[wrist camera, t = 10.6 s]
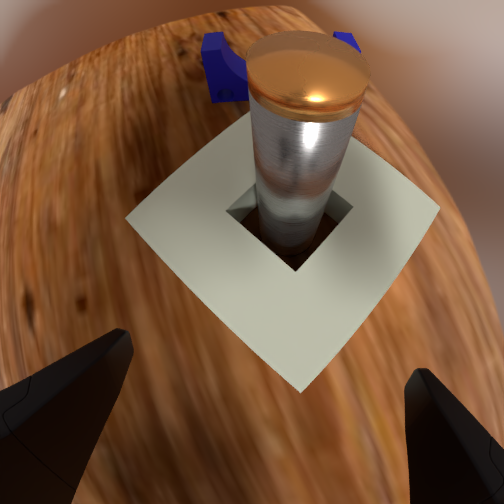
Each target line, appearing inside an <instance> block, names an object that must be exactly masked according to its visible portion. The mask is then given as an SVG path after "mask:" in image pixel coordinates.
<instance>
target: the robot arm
mask: <svg viewBox="0 0 504 504" xmlns="http://www.w3.org/2000/svg"><path fill="white" fill-rule="evenodd" d="M133 353H134V349H133V345H132V341H131V337H130V333H129V332H128V331H127V330H123V329H120V328H116V329H114V330H112V331H110V332H108V333H107V334H105V335H103V336H101V337H99V338H98V339H96V340H94V341H92V342H90V343H89V344H87V345H85V346H83V347H81V348H80V349H78V350H76V351H74V352H72V353H70V354H69V355H67V356H65V357H63V358H61V359H60V360H58V361H56V362H54V363H52V364H51V365H49V366H47V367H45V368H43V369H42V370H40V371H38V372H36V373H34V374H33V375H32V376H29V377H27V378H25V379H23V380H21V381H20V382H18V383H16V384H14V385H12V386H10V387H8V388H5V389H3V390H1V391H0V504H71V503H72V500H73V498H74V495H75V493H76V490H77V487H78V485H79V482H80V480H81V478H82V475H83V473H84V470H85V468H86V466H87V463H88V461H89V459H90V456H91V454H92V452H93V450H94V447H95V445H96V443H97V441H98V438H99V436H100V434H101V432H102V430H103V427H104V425H105V423H106V421H107V419H108V417H109V415H110V412H111V410H112V408H113V406H114V404H115V402H116V400H117V398H118V395H119V393H120V390H121V388H122V385H123V382H124V379H125V376H126V374H127V371H128V368H129V365H130V362H131V360H132V357H133ZM404 398H405V434H406V444H407V455H408V468H409V485H410V504H504V449H503V448H502V447H501V446H500V445H499V444H498V442H497V441H496V440H495V439H494V438H493V437H492V436H491V435H490V434H489V433H488V431H487V430H486V429H485V428H484V427H483V426H482V425H481V424H480V423H479V422H478V420H477V419H476V418H475V417H474V416H473V415H472V414H471V413H470V412H469V411H468V410H467V409H466V408H465V406H464V405H463V404H462V403H461V402H460V401H459V400H458V399H457V398H456V397H455V396H454V395H453V394H452V393H451V392H450V391H449V390H448V389H447V388H446V387H445V385H444V384H443V383H442V382H441V381H440V380H439V379H438V378H437V377H436V376H435V375H434V374H433V373H432V372H431V371H430V370H429V369H427V368H417V369H415V370H414V372H413V373H412V375H411V377H410V378H409V380H408V382H407V383H406V385H405V389H404Z"/></svg>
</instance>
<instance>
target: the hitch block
mask: <svg viewBox="0 0 504 504" xmlns="http://www.w3.org/2000/svg"><path fill="white" fill-rule="evenodd" d="M257 206H258V202H257V189H256V176H255V164H254V151H253V139H252V127H251V115H250V111H249V112H248V113H247V114H245V115H244V116H243V117H241V118H240V119H239V120H237V121H236V122H235V123H233V124H232V125H231V126H229V127H228V128H227V129H225V130H224V131H223V132H222V133H220V134H219V135H218V136H217V137H215V138H214V139H213V140H212V141H210V142H209V143H208V144H207V145H205V146H204V147H203V148H202V149H201V150H199V151H198V152H197V153H196V154H195V155H193V156H192V157H191V158H190V159H189V160H188V161H186V162H185V163H184V164H183V165H182V166H181V167H179V168H178V169H177V170H176V171H175V172H174V173H173V174H171V175H170V176H169V177H168V178H167V179H166V180H165V181H164V182H163V183H161V184H160V185H159V186H158V187H157V188H156V189H155V190H154V191H153V192H152V193H151V194H150V195H148V196H147V197H146V198H145V199H144V200H143V201H142V202H141V203H140V204H139V205H138V206H137V207H136V208H135V209H134V210H133V211H132V212H131V213H130V214H129V215H128V216H127V217H126V218H125V219H126V220H127V221H128V222H129V223H130V224H131V226H132V227H133V228H134V229H135V230H136V231H137V232H138V233H139V235H140V236H141V237H142V238H143V239H144V240H145V241H146V242H147V244H148V245H149V246H150V247H151V248H152V249H153V250H154V251H155V252H156V253H157V254H158V256H159V257H160V258H161V259H162V260H163V261H164V262H165V263H166V264H167V265H168V266H169V267H170V268H171V270H172V271H173V272H174V273H175V274H176V275H177V276H178V277H179V278H180V279H181V280H182V281H183V282H184V283H185V284H186V285H187V286H188V287H189V288H190V289H191V290H192V291H193V292H194V293H195V294H196V295H197V296H198V298H199V299H200V300H201V301H202V302H203V303H204V304H205V305H206V306H207V307H208V308H209V309H210V310H211V311H212V312H213V313H214V314H215V315H217V316H218V317H219V318H220V319H221V320H222V321H223V322H224V323H225V324H226V325H227V326H228V327H229V328H230V329H231V330H232V331H233V332H234V333H235V334H236V335H237V336H238V337H239V338H240V339H241V340H242V341H243V342H245V343H246V344H247V345H248V346H249V347H250V348H251V349H252V350H253V351H254V352H255V353H256V354H257V355H259V356H260V357H261V358H262V359H263V360H264V361H265V362H266V363H267V364H268V365H270V366H271V367H272V368H273V369H274V370H275V371H276V372H277V373H278V374H280V375H281V376H282V377H283V378H284V379H285V380H286V381H287V382H289V383H290V384H291V385H292V386H293V387H294V388H296V389H297V390H298V391H299V392H300V393H301V392H302V391H303V390H304V389H305V388H306V387H307V386H308V385H309V384H310V383H311V382H312V381H313V380H314V379H315V378H316V376H317V375H318V374H319V373H320V372H321V371H322V370H323V369H324V368H325V367H326V365H327V364H328V363H329V362H330V361H331V360H332V359H333V358H334V356H335V355H336V354H337V353H338V352H339V351H340V349H341V348H342V347H343V346H344V345H345V344H346V342H347V341H348V340H349V339H350V338H351V336H352V335H353V334H354V333H355V331H356V330H357V329H358V328H359V326H360V325H361V324H362V323H363V321H364V320H365V319H366V318H367V316H368V315H369V314H370V312H371V311H372V310H373V309H374V307H375V306H376V305H377V303H378V302H379V301H380V299H381V298H382V297H383V295H384V294H385V292H386V291H387V290H388V288H389V287H390V286H391V284H392V283H393V281H394V280H395V279H396V277H397V276H398V274H399V273H400V271H401V270H402V268H403V267H404V265H405V264H406V262H407V261H408V259H409V258H410V256H411V255H412V253H413V252H414V250H415V249H416V247H417V246H418V244H419V243H420V241H421V239H422V238H423V236H424V235H425V233H426V231H427V230H428V228H429V226H430V225H431V223H432V221H433V220H434V218H435V216H436V215H437V213H438V211H439V209H440V207H439V206H438V205H437V204H436V203H435V202H434V201H433V200H432V199H431V198H429V197H428V196H427V195H426V194H425V193H424V192H423V191H421V190H420V189H419V188H418V187H417V186H416V185H414V184H413V183H412V182H411V181H410V180H409V179H407V178H406V177H405V176H404V175H402V174H401V173H400V172H399V171H397V170H396V169H395V168H394V167H392V166H391V165H390V164H389V163H387V162H386V161H385V160H383V159H382V158H381V157H380V156H378V155H377V154H376V153H374V152H373V151H371V150H370V149H369V148H367V147H366V146H365V145H363V144H362V143H360V142H359V141H358V140H356V139H355V138H353V137H352V136H351V138H350V140H349V143H348V146H347V149H346V152H345V155H344V158H343V161H342V164H341V166H340V169H339V172H338V175H337V178H336V180H335V183H334V186H333V189H332V191H331V194H330V197H329V199H328V202H327V205H326V207H325V210H324V212H325V213H326V214H327V215H329V216H330V217H331V218H332V219H333V220H335V221H336V222H337V223H338V226H337V227H336V228H335V229H334V230H333V231H332V232H331V234H330V235H329V236H328V237H327V238H326V239H325V240H324V241H323V243H322V244H321V245H320V246H319V247H318V248H317V249H316V250H315V252H314V253H313V254H312V255H311V256H310V257H309V258H308V259H307V260H306V262H305V263H304V264H303V265H302V266H301V267H300V268H299V269H298V270H297V271H296V272H295V271H294V270H293V269H291V268H290V267H289V266H288V265H287V264H286V263H285V262H283V261H282V260H281V259H280V258H279V257H278V256H277V255H275V254H274V253H273V252H272V251H271V250H270V249H269V248H267V247H266V246H265V245H264V244H263V243H262V242H261V241H259V240H258V239H257V238H256V237H255V236H254V235H252V234H251V233H250V232H249V231H248V230H247V229H246V228H244V227H243V226H242V225H241V224H240V222H241V221H242V220H243V219H244V218H245V217H246V216H247V215H248V214H249V213H250V212H251V211H252V210H253V209H255V208H256V207H257Z"/></svg>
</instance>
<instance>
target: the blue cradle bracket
mask: <svg viewBox="0 0 504 504" xmlns="http://www.w3.org/2000/svg"><path fill="white" fill-rule="evenodd" d="M333 37H335V38H337V39H339V40H342V41H344V42H346V43H347V44H349V45H351V46H352V47H354V48H355V49H356V50H358V51H359V52H360V53H361V50H360V48H359V46H358V45H357V43H356V41H355V39H354V37H353V36H352V34H351V33H344V32H334V34H333ZM201 55H202V60H203V64H204V69H205V73H206V78H207V82H208V87H209V91H210V96H211V100H212V103H219V102H232V101H248V100H249V91H248V80H247V69H246V61H245V60H243V59H242V58H240V57H239V56H237V55H236V54H235V53H234V52H233V51H232V50H231V49H230V47H229V46H228V44H227V42H226V40H225V38H224V34H223V32H215V33H207V34H204V39H203V43H202V48H201Z"/></svg>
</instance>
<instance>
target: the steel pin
mask: <svg viewBox="0 0 504 504" xmlns="http://www.w3.org/2000/svg"><path fill="white" fill-rule="evenodd" d="M246 69H247V80H248V91H249V103H250V115H251V127H252V139H253V151H254V164H255V176H256V189H257V202H258V215H259V228H260V236H261V239H262V241H263V243H264V244H265V245H266V247H267V248H269V249H270V250H271V251H272V252H274V253H276V254H279V255H283V256H293V255H297V254H299V253H301V252H303V251H305V250H306V249H307V248H308V247H309V246H310V245H311V243H312V241H313V238H314V236H315V233H316V231H317V228H318V226H319V223H320V220H321V218H322V215H323V213H324V210H325V207H326V205H327V202H328V199H329V197H330V194H331V191H332V189H333V186H334V183H335V180H336V178H337V175H338V172H339V169H340V166H341V164H342V161H343V158H344V155H345V152H346V149H347V146H348V143H349V140H350V138H351V135H352V132H353V129H354V126H355V123H356V119H357V116H358V113H359V110H360V107H361V104H362V101H363V98H364V94H365V91H366V88H367V85H368V81H369V78H370V67H369V64H368V62H367V61H366V59H365V58H364V56H362V54H361V53H360V52H359V51H358V50H356V49H355V48H354V47H352V46H351V45H349V44H347V43H346V42H344V41H342V40H339V39H337V38H335V37H332V36H329V35H325V34H321V33H316V32H310V31H284V32H278V33H274V34H271V35H268V36H265V37H263V38H261V39H259V40H258V41H256V42H255V43H254V44H253V45H252V46H251V47H250V48H249V49H248V51H247V54H246Z"/></svg>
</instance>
